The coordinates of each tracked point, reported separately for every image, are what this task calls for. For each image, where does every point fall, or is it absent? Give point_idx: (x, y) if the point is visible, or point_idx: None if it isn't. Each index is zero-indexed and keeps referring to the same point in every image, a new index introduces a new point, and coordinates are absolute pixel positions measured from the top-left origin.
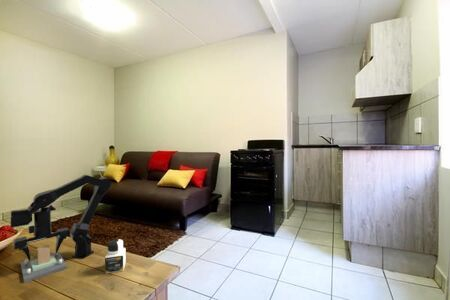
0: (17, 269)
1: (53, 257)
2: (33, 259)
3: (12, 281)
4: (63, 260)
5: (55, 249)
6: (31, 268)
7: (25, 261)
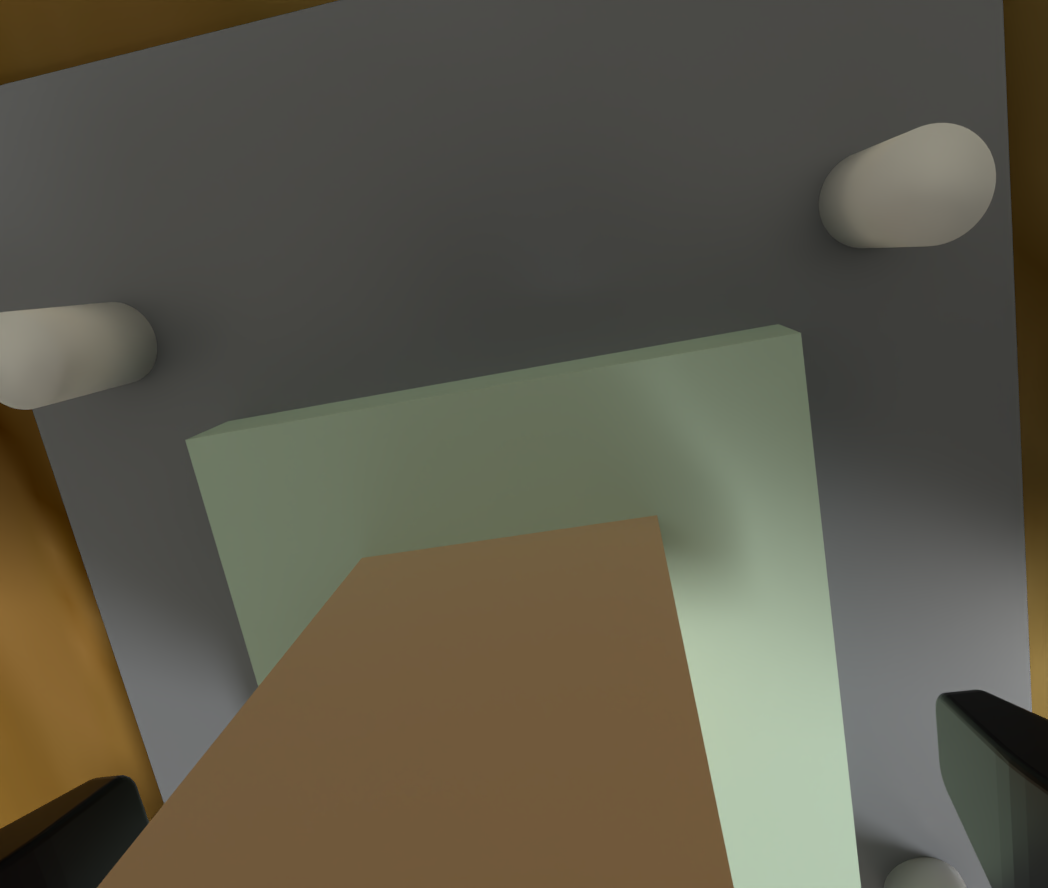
0: None
1: (795, 558)
2: (225, 85)
3: None
4: None
5: (1002, 757)
6: None
7: (32, 397)
